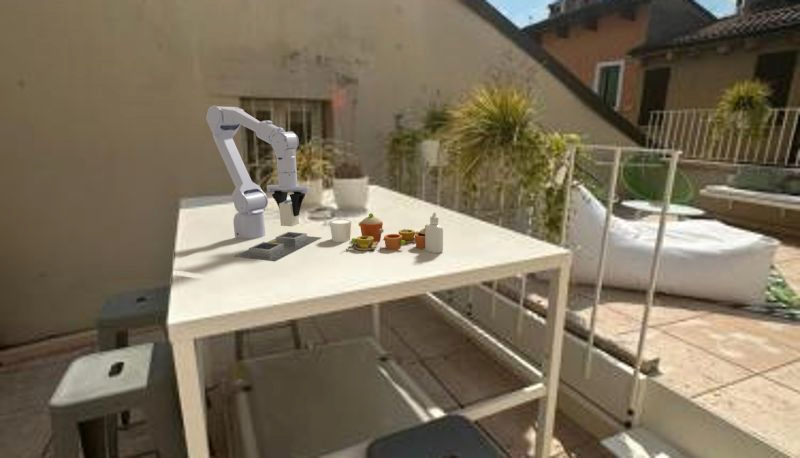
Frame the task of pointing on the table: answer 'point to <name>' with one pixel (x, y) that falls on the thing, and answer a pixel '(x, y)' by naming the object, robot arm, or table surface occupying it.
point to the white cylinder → (340, 230)
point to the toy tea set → (372, 236)
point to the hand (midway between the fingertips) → (290, 215)
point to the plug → (287, 214)
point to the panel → (278, 246)
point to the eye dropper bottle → (434, 236)
